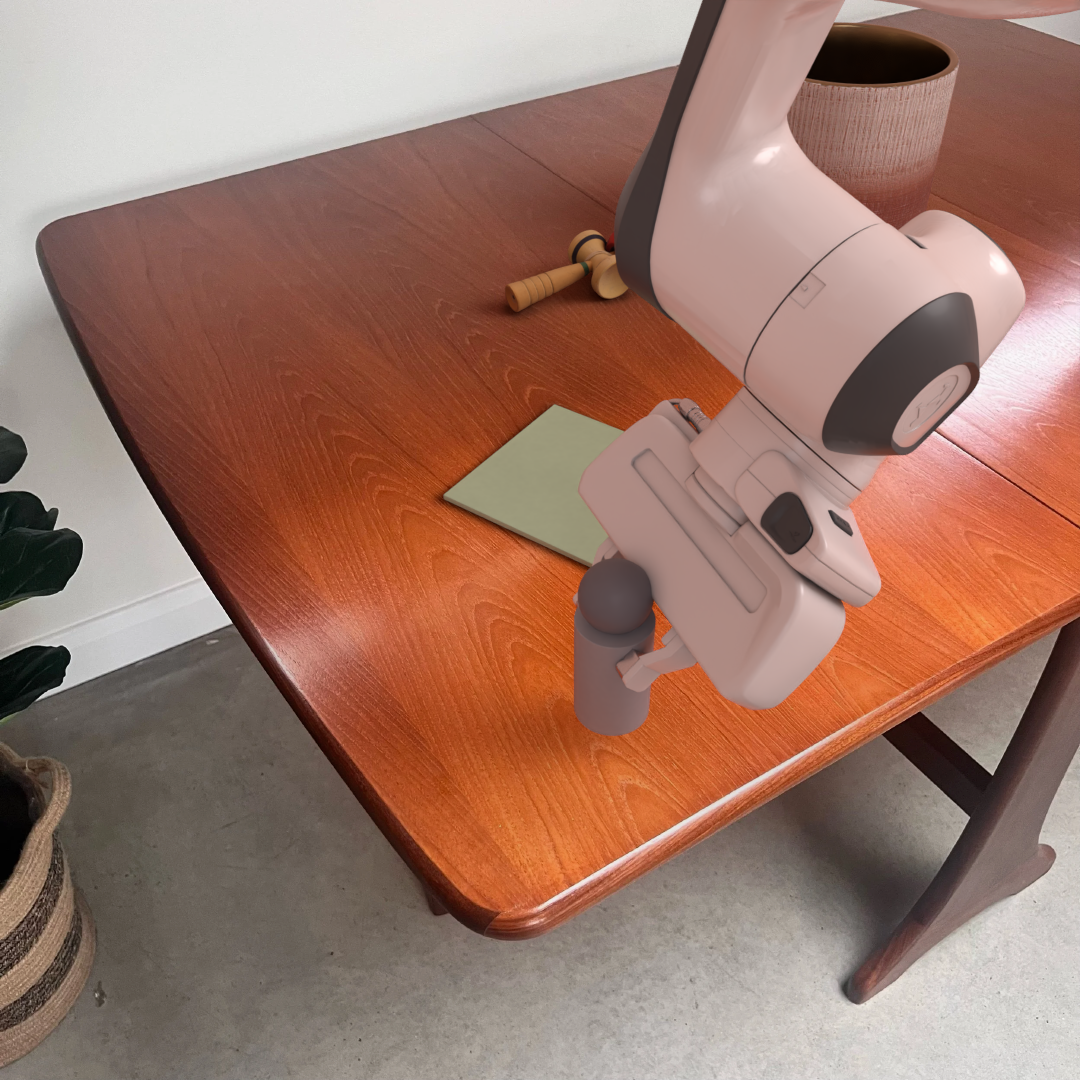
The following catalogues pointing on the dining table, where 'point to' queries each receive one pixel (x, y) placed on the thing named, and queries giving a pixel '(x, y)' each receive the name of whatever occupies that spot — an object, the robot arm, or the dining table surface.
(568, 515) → the mat
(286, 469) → the dining table surface
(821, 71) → the planter
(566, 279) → the kendama
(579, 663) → the ball
